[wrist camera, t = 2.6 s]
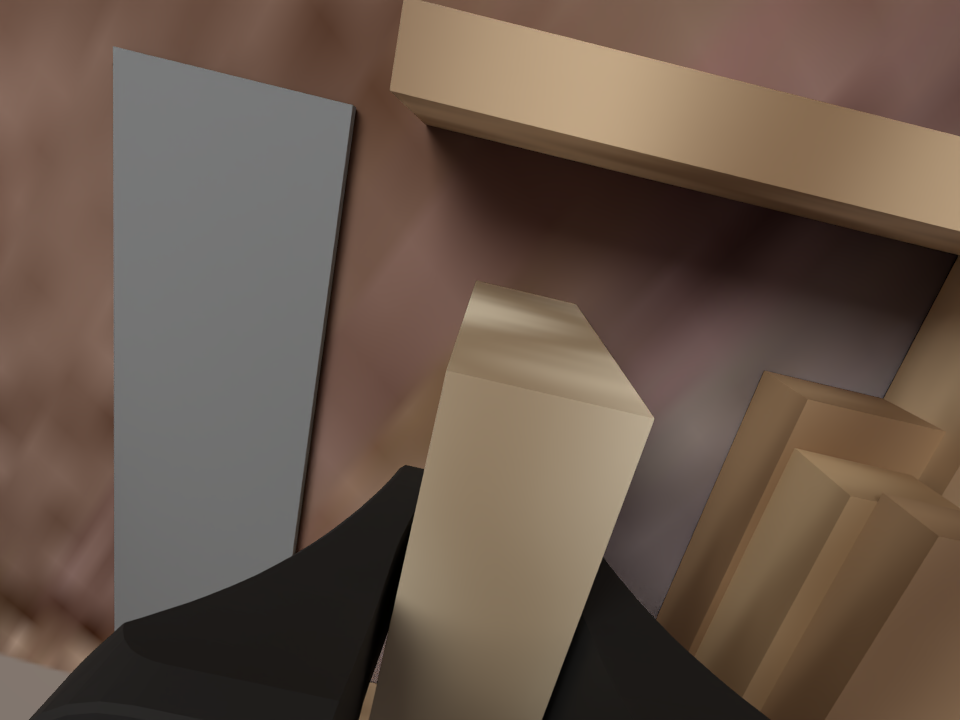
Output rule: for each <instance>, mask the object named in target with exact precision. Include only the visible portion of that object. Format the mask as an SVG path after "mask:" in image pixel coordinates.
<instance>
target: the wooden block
mask: <svg viewBox="0 0 960 720" xmlns="http://www.w3.org/2000/svg"><path fill="white" fill-rule="evenodd" d="M653 422H654V417H653V416H652V414H651V413H650V411H649V410H648V408H647V407H646V405H645V404H644V403H643V401H642V400H641V398H640V397H639V395H638V394H637V392H636V391H635V389H634V388H633V387H632V385H631V384H630V382H629V381H628V379H627V378H626V376H625V375H624V373H623V372H622V371H621V369H620V368H619V366H618V365H617V363H616V362H615V360H614V359H613V357H612V356H611V355H610V353H609V352H608V350H607V349H606V347H605V346H604V344H603V343H602V341H601V340H600V339H599V337H598V336H597V334H596V333H595V331H594V330H593V328H592V327H591V326H590V324H589V323H588V321H587V320H586V318H585V317H584V315H583V314H582V312H581V311H580V310H579V308H578V307H577V305H576V304H573V303H569V302H565V301H561V300H556V299H552V298H548V297H544V296H540V295H535V294H531V293H527V292H523V291H518V290H514V289H510V288H506V287H502V286H497V285H493V284H489V283H485V282H481V281H476V283H475V286H474V289H473V292H472V295H471V298H470V301H469V304H468V307H467V310H466V313H465V316H464V319H463V322H462V325H461V328H460V331H459V334H458V337H457V340H456V343H455V346H454V349H453V352H452V355H451V358H450V361H449V364H448V367H447V370H446V375H445V379H444V384H443V388H442V393H441V397H440V402H439V406H438V411H437V415H436V420H435V424H434V429H433V433H432V438H431V442H430V447H429V451H428V456H427V460H426V465H425V469H424V474H423V478H422V483H421V487H420V492H419V496H418V501H417V505H416V510H415V514H414V519H413V523H412V528H411V532H410V537H409V541H408V546H407V550H406V555H405V559H404V564H403V568H402V573H401V577H400V582H399V586H398V591H397V595H396V600H395V604H394V609H393V613H392V618H391V622H390V627H389V631H388V636H387V640H386V645H385V649H384V654H383V658H382V663H381V667H380V672H379V676H378V681H377V685H376V690H375V694H374V699H373V703H372V708H371V712H370V717H369V720H542V718H543V715H544V713H545V710H546V707H547V705H548V702H549V699H550V697H551V694H552V691H553V689H554V686H555V683H556V681H557V678H558V675H559V673H560V670H561V667H562V665H563V662H564V659H565V657H566V654H567V651H568V649H569V646H570V643H571V641H572V638H573V635H574V633H575V630H576V627H577V625H578V622H579V619H580V617H581V614H582V611H583V609H584V606H585V603H586V601H587V598H588V595H589V593H590V590H591V587H592V585H593V582H594V579H595V577H596V574H597V571H598V568H599V566H600V563H601V560H602V558H603V555H604V552H605V550H606V547H607V544H608V542H609V539H610V536H611V534H612V531H613V528H614V526H615V523H616V520H617V518H618V515H619V512H620V510H621V507H622V504H623V502H624V499H625V496H626V494H627V491H628V488H629V486H630V483H631V480H632V478H633V475H634V472H635V470H636V467H637V464H638V462H639V459H640V456H641V454H642V451H643V448H644V446H645V443H646V440H647V438H648V435H649V432H650V430H651V427H652V424H653Z"/></svg>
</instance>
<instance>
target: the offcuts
mask: <svg viewBox="0 0 960 720" xmlns="http://www.w3.org/2000/svg"><path fill="white" fill-rule="evenodd" d="M945 433H946V431H944V430H942V429H940V428H938V427H936V426H934V425H932V424H930V423H929V422H927V421H925V420H923V419H921V418H919V417H917V416H915V415H913V414H911V413H910V412H908V411H906V410H904V409H902V408H900V407H898V406H896V405H894V404H892V403H891V402H889V401H887V400H885V399H882V398H878V397H874V396H870V395H865V394H861V393H857V392H853V391H848V390H844V389H840V388H836V387H832V386H827V385H823V384H819V383H815V382H810V381H806V380H802V379H798V378H793V377H789V376H785V375H781V374H776V373H772V372H768V371H764V373H763V375H762V377H761V379H760V382H759V384H758V386H757V389H756V391H755V393H754V396H753V398H752V400H751V402H750V405H749V407H748V409H747V412H746V414H745V416H744V418H743V421H742V423H741V425H740V428H739V430H738V432H737V435H736V437H735V439H734V441H733V444H732V446H731V448H730V451H729V453H728V455H727V458H726V460H725V462H724V464H723V467H722V469H721V471H720V474H719V476H718V478H717V480H716V483H715V485H714V487H713V490H712V492H711V494H710V497H709V499H708V501H707V503H706V506H705V508H704V510H703V513H702V515H701V517H700V520H699V522H698V524H697V526H696V529H695V531H694V533H693V536H692V538H691V540H690V543H689V545H688V547H687V549H686V552H685V554H684V556H683V559H682V561H681V563H680V565H679V568H678V570H677V572H676V575H675V577H674V579H673V582H672V584H671V586H670V588H669V591H668V593H667V595H666V598H665V600H664V602H663V605H662V607H661V609H660V611H659V614H658V616H657V618H656V620H657V621H658V622H659V623H660V624H661V625H662V626H663V627H664V628H665V629H666V630H667V631H668V632H669V633H670V635H671V636H672V637H674V638H675V639H676V640H677V641H678V642H679V643H680V644H681V645H682V646H683V647H684V648H685V649H686V650H687V651H688V652H689V653H691V654H692V655H693V656H694V657H695V658H696V659H697V660H698V661H700V662H701V663H702V664H703V665H704V666H705V667H706V668H707V669H709V670H710V671H711V672H712V673H713V674H714V675H715V676H716V677H718V678H719V679H720V680H721V681H722V682H724V683H725V684H726V685H727V686H729V687H730V688H731V689H732V690H733V691H735V692H736V693H737V694H738V695H740V696H741V697H742V698H743V699H745V700H746V701H747V702H748V703H750V704H751V705H752V706H754V707H755V708H756V709H758V710H759V711H760V712H762V713H763V714H764V715H765V716H767V717H768V718H769V719H771V720H960V508H959V507H957V506H956V505H954V504H953V503H952V502H950V501H949V500H947V499H946V498H944V497H943V496H941V495H940V494H938V493H937V492H935V491H934V490H932V489H931V488H929V487H928V486H926V485H925V484H924V483H922V482H921V481H919V478H920V476H921V474H922V473H923V471H924V469H925V468H926V466H927V464H928V462H929V461H930V459H931V457H932V456H933V454H934V452H935V450H936V449H937V447H938V445H939V444H940V442H941V440H942V438H943V437H944V435H945Z"/></svg>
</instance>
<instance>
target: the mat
mask: <svg viewBox="0 0 960 720" xmlns="http://www.w3.org/2000/svg"><path fill="white" fill-rule="evenodd" d="M355 112H356V107H355V106H353V105H350V104H346V103H342V102H338V101H333V100H329V99H325V98H321V97H317V96H313V95H309V94H305V93H301V92H297V91H293V90H289V89H285V88H281V87H276V86H272V85H268V84H264V83H260V82H256V81H252V80H248V79H244V78H240V77H236V76H232V75H228V74H223V73H219V72H215V71H211V70H207V69H203V68H199V67H195V66H191V65H187V64H183V63H179V62H175V61H171V60H166V59H162V58H158V57H154V56H150V55H146V54H142V53H138V52H134V51H130V50H126V49H122V48H118V47H113V189H114V610H115V631H116V630H117V629H118V628H119V627H120V626H121V625H122V624H123V623H125V622H128V621H132V620H135V619H139V618H142V617H145V616H148V615H151V614H154V613H157V612H160V611H164V610H167V609H170V608H173V607H176V606H179V605H182V604H185V603H188V602H191V601H194V600H197V599H199V598H202V597H205V596H207V595H210V594H212V593H215V592H218V591H220V590H223V589H225V588H228V587H230V586H232V585H235V584H237V583H239V582H242V581H244V580H246V579H248V578H251V577H253V576H255V575H257V574H259V573H261V572H263V571H265V570H267V569H269V568H271V567H273V566H274V565H276V564H278V563H280V562H282V561H284V560H285V559H287V558H289V557H291V556H293V555H294V554H295V552H296V544H297V537H298V530H299V522H300V515H301V508H302V500H303V493H304V486H305V479H306V471H307V464H308V457H309V449H310V442H311V435H312V427H313V420H314V413H315V405H316V398H317V391H318V383H319V376H320V369H321V361H322V354H323V347H324V339H325V332H326V325H327V317H328V310H329V303H330V295H331V288H332V281H333V273H334V266H335V259H336V251H337V244H338V237H339V229H340V222H341V215H342V207H343V200H344V193H345V185H346V178H347V171H348V163H349V156H350V149H351V141H352V134H353V127H354V119H355Z"/></svg>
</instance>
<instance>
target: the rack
mask: <svg viewBox="0 0 960 720" xmlns="http://www.w3.org/2000/svg"><path fill="white" fill-rule="evenodd" d="M390 91H391V92H392V93H393V94H394V95H395V96H396V97H397V98H398V99H399V100H400V101H401V102H402V103H403V104H404V105H405V106H407V107H408V108H409V109H410V110H411V111H412V112H413V113H414V114H415V115H416V116H417V117H418V118H419V119H420V120H421V121H422V122H423V123H424V124H426V125H430V126H434V127H438V128H442V129H446V130H451V131H455V132H459V133H463V134H467V135H471V136H475V137H479V138H483V139H487V140H491V141H495V142H499V143H504V144H508V145H512V146H516V147H520V148H524V149H528V150H532V151H536V152H540V153H544V154H548V155H552V156H556V157H561V158H565V159H569V160H573V161H577V162H581V163H585V164H589V165H593V166H597V167H601V168H605V169H609V170H614V171H618V172H622V173H626V174H630V175H634V176H638V177H642V178H646V179H650V180H654V181H658V182H662V183H667V184H671V185H675V186H679V187H683V188H687V189H691V190H695V191H699V192H703V193H707V194H711V195H715V196H719V197H724V198H728V199H732V200H736V201H740V202H744V203H748V204H752V205H756V206H760V207H764V208H768V209H772V210H777V211H781V212H785V213H789V214H793V215H797V216H801V217H805V218H809V219H813V220H817V221H821V222H825V223H830V224H834V225H838V226H842V227H846V228H850V229H854V230H858V231H862V232H866V233H870V234H874V235H878V236H882V237H887V238H891V239H895V240H899V241H903V242H907V243H911V244H915V245H919V246H923V247H927V248H931V249H935V250H940V251H944V252H948V253H952V254H956V255H959V256H958V258H957V260H956V262H955V264H954V265H953V267H952V269H951V271H950V273H949V275H948V277H947V279H946V281H945V283H944V284H943V286H942V288H941V290H940V292H939V294H938V296H937V298H936V300H935V302H934V304H933V305H932V307H931V309H930V311H929V313H928V315H927V317H926V319H925V321H924V323H923V324H922V326H921V328H920V330H919V332H918V334H917V336H916V338H915V340H914V342H913V343H912V345H911V347H910V349H909V351H908V353H907V355H906V357H905V359H904V361H903V362H902V364H901V366H900V368H899V370H898V372H897V374H896V376H895V378H894V380H893V382H892V383H891V385H890V387H889V389H888V391H887V393H886V395H885V397H884V399H885V400H887V401H889V402H891V403H892V404H894V405H896V406H898V407H900V408H902V409H904V410H906V411H908V412H910V413H911V414H913V415H915V416H917V417H919V418H921V419H923V420H925V421H927V422H929V423H930V424H932V425H934V426H936V427H938V428H940V429H942V430H944V431H946V433H945V435H944V437H943V438H942V440H941V442H940V444H939V445H938V447H937V449H936V450H935V452H934V454H933V456H932V457H931V459H930V461H929V462H928V464H927V466H926V468H925V469H924V471H923V473H922V474H921V476H920V478H919V481H921V482H922V483H924V484H925V485H926V486H928V487H929V488H931V489H932V490H934V491H935V492H937V493H938V494H940V495H941V496H943V497H944V498H946V499H947V500H949V501H950V502H952V503H953V504H954V505H956V506H957V507H959V508H960V136H956V135H952V134H948V133H944V132H940V131H936V130H932V129H928V128H924V127H920V126H916V125H912V124H908V123H904V122H900V121H896V120H892V119H888V118H884V117H880V116H876V115H872V114H868V113H864V112H861V111H857V110H853V109H849V108H845V107H841V106H837V105H833V104H829V103H825V102H821V101H817V100H813V99H809V98H805V97H801V96H797V95H793V94H789V93H785V92H781V91H777V90H773V89H769V88H765V87H761V86H758V85H754V84H750V83H746V82H742V81H738V80H734V79H730V78H726V77H722V76H718V75H714V74H710V73H706V72H702V71H698V70H694V69H690V68H686V67H682V66H678V65H674V64H670V63H666V62H662V61H658V60H654V59H651V58H647V57H643V56H639V55H635V54H631V53H627V52H623V51H619V50H615V49H611V48H607V47H603V46H599V45H595V44H591V43H587V42H583V41H579V40H575V39H571V38H567V37H563V36H559V35H555V34H551V33H547V32H544V31H540V30H536V29H532V28H528V27H524V26H520V25H516V24H512V23H508V22H504V21H500V20H496V19H492V18H488V17H484V16H480V15H476V14H472V13H468V12H464V11H460V10H456V9H452V8H448V7H444V6H440V5H437V4H433V3H429V2H425V1H421V0H404V1H403V7H402V14H401V20H400V27H399V33H398V40H397V46H396V53H395V59H394V66H393V72H392V79H391V85H390ZM376 685H377V684H375V683H371V682H370V684H369V687H368V690H367V693H366V696H365V699H364V702H363V706H362V710H361V713H360V717H359V720H369V717H370V712H371V708H372V703H373V699H374V694H375V690H376Z"/></svg>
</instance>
